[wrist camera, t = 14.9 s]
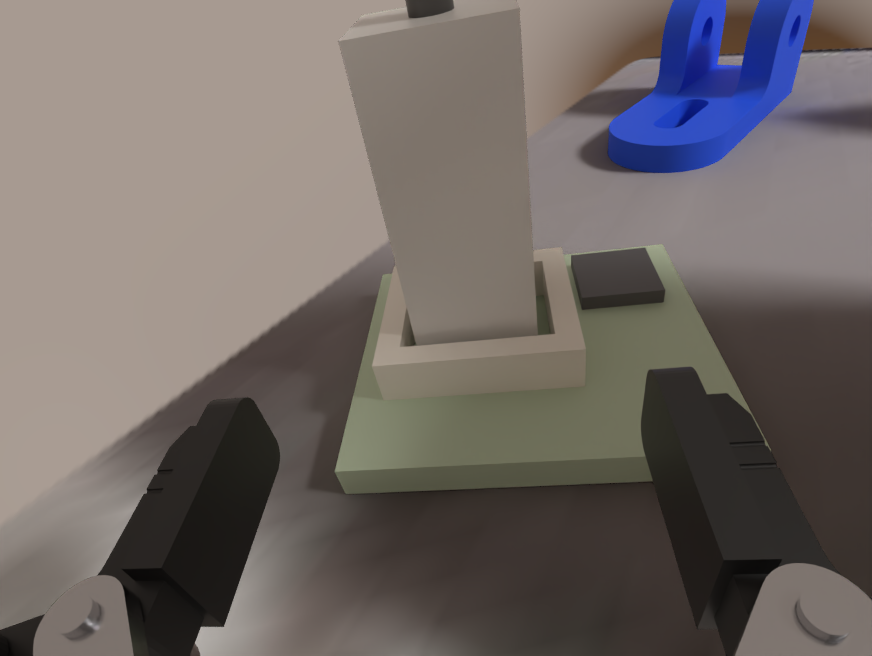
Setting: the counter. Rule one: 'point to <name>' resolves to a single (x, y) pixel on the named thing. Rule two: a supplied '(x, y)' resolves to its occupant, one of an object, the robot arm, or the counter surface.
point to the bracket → (709, 86)
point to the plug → (450, 161)
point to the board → (528, 383)
